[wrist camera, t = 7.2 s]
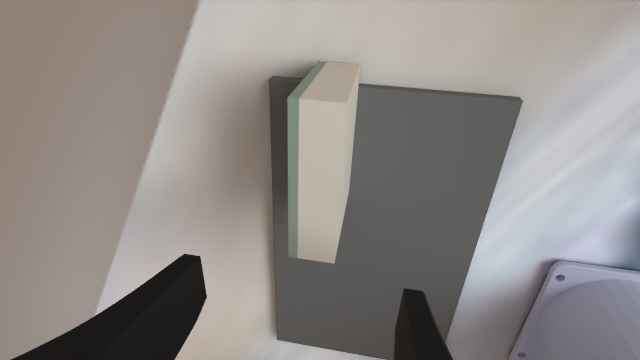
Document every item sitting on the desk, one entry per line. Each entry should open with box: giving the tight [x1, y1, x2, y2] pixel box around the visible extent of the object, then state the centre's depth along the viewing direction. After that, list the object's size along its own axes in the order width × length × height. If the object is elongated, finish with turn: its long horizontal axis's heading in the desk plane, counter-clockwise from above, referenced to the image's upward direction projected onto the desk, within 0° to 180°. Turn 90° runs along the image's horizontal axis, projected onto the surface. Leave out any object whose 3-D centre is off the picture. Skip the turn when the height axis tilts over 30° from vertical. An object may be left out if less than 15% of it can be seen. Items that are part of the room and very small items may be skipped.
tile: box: [287, 61, 360, 264], centre depth 16 cm, size 7×2×6 cm, turn 177°
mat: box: [269, 76, 523, 360], centre depth 23 cm, size 20×12×1 cm, turn 177°
